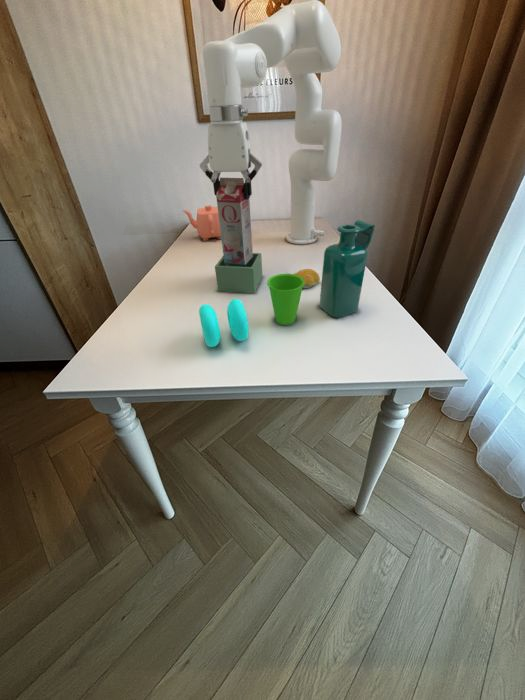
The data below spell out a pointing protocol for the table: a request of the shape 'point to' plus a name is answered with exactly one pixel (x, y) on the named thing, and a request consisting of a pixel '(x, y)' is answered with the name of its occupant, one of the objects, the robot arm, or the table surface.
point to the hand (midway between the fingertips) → (233, 197)
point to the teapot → (206, 222)
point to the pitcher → (345, 269)
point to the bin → (239, 275)
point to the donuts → (235, 320)
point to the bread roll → (308, 277)
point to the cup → (285, 296)
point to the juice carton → (234, 221)
